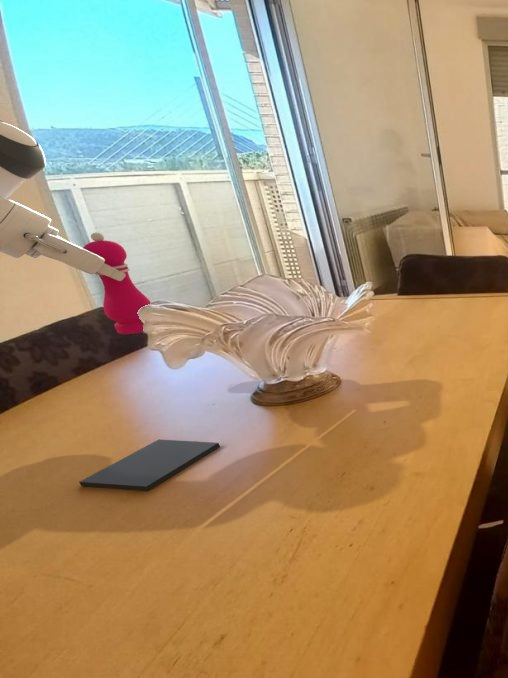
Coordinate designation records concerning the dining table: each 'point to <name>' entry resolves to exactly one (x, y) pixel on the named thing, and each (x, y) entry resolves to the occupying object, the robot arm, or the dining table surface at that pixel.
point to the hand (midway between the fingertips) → (118, 275)
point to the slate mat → (150, 465)
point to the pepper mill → (118, 287)
